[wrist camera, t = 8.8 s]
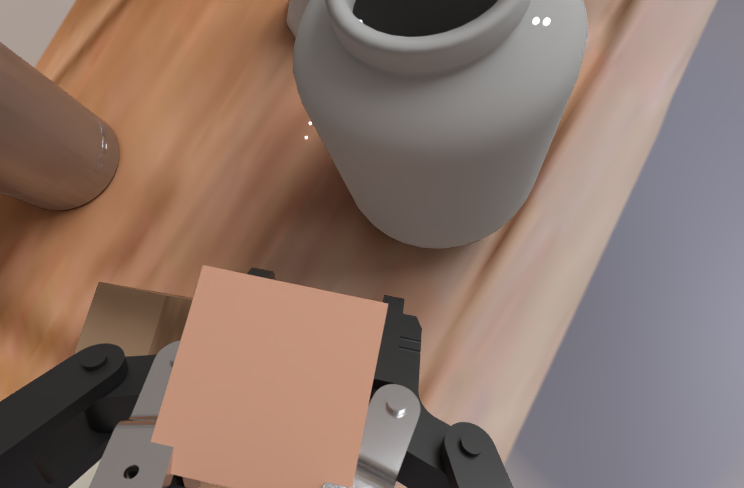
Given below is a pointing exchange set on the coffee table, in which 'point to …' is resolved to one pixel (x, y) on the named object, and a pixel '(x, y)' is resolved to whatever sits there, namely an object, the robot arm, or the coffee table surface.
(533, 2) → the jar
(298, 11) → the flask
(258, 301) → the terracotta pillar
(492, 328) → the coffee table surface
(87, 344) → the walnut pillar
